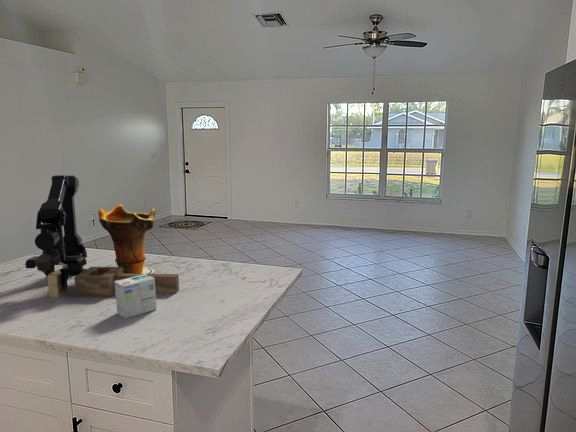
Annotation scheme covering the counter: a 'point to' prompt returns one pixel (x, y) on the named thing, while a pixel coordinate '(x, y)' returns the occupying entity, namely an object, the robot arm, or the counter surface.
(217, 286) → the counter surface
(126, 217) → the decorative vase
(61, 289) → the tan cardboard block
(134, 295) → the light bulb box
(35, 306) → the counter surface
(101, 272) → the wooden block stand
